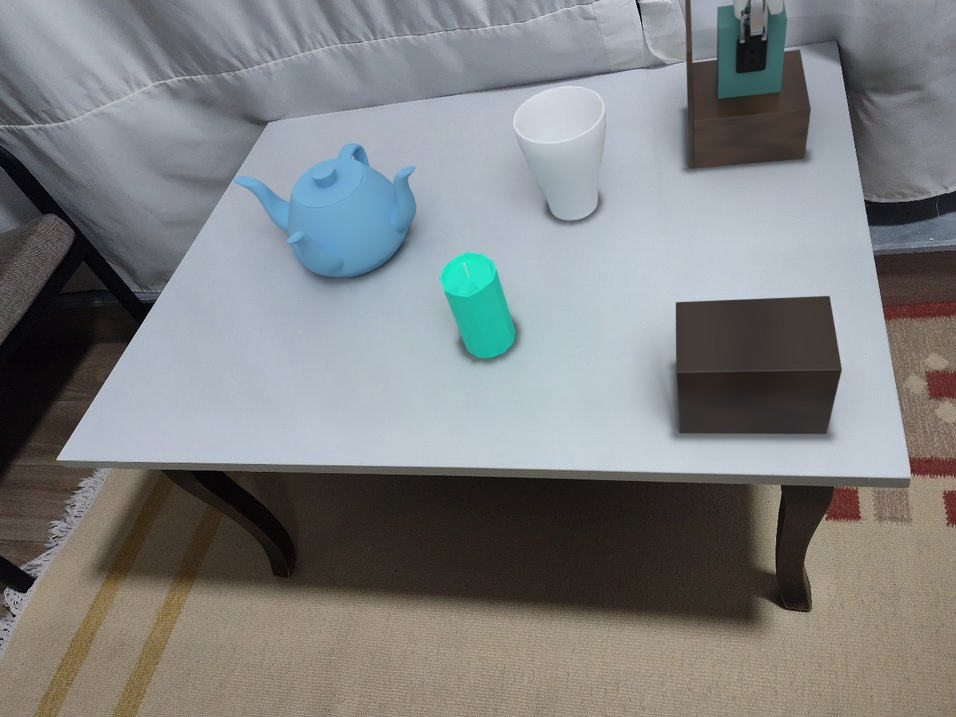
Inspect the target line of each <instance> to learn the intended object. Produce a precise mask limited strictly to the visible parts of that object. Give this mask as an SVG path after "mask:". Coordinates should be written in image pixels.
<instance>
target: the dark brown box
mask: <svg viewBox="0 0 956 717" xmlns="http://www.w3.org/2000/svg"><path fill="white" fill-rule="evenodd" d="M830 296H831V295H820V296H816V295H815V296H794V297H770V298H769V297H768V298H767V297H766V298H765V297H764V298H748V299H747V298H744V299H743V298H742V299H718V300H695V301H693V300H692V301H675V377H676V396H677V398H676V399H677V418H678V433H679V434H743V435H745V434H749V435H751V434H753V435H754V434H755V435H756V434H757V435H758V434H760V435H761V434H762V435H764V434H766V435H776V434H778V435H779V434H780V435H827V433H828V430H829V427H830V426H829V425H830V421H831V417H832V412H833V409H834V404H835V400H836V396H837V392H838V388H839V384H840V380H841V375H842V371H843V368H842V362H841V355H840V350H839V349H840V348H839V343H838V339H837V338H838V337H837V331H836V326H835V320H834V314H833V313H834V312H833V307H832V302H831V297H830Z"/></svg>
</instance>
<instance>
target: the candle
mask: <svg viewBox="0 0 956 717" xmlns="http://www.w3.org/2000/svg"><path fill="white" fill-rule="evenodd" d="M439 282H440V285H441V288H442V290H443V293H444V296H445V298H446V300H447V303H448V305H449V308H450V311H451V313H452V316H453V318H454V321H455V323H456V325H457V328H458V330H459V333H460V336H461V339H462V340H463V343H464V346H465V349H466V351H467V352H468V353H470V354H471V355H472V356H474V357H476V358H482V359H492V358H494V357H497V356H500V355H503V354H505V352H507V351H508V350H509V349H510V348H511V347H512V346H513V345H514V342H515V339H516V334H517V331H516V329H515V326H514V322H513V319H512V314H511V311H510V308H509V306H508V303H507V298H506V296H505V292H504V290H503V285H502V283H501V282H502V281H501V279H500V276H499V273H498V269H497V266H496V265H495V263H494V260H493V259H491V258H489V257H488V256H486V255H484V254H483V253H479V252H470V251H465V252H464V253H462V254H460V255H457V256H456V257H455V256H454V257H453V258H452V259H450V261H448V262H447V263H446V264H445V265H444V266H443V267H442V269H441V272H440V274H439Z"/></svg>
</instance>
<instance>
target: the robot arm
mask: <svg viewBox="0 0 956 717" xmlns="http://www.w3.org/2000/svg"><path fill="white" fill-rule="evenodd" d="M732 5H733V7H734V14H735V17H736V18H737V19H739V20H740V39H737V48H736V72H737V73H747V72H756V71H763V70H765V68H766V59H767V45H768V35H767V17H768V8H769V10H770V13H771V15H773V14H776V15H779V14H780V13H781V12H782V11H783V0H732ZM747 7H750V11H744V9H745V8H747ZM749 19H750V25H749V26H747V27H746V30H745V24H746V20H749Z"/></svg>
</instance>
